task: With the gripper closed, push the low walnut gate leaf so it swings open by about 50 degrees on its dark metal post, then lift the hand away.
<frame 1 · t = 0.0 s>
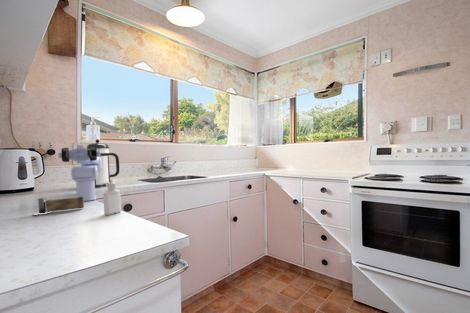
hand: (76, 153, 93), 22 cm above the counter, tool horizontal, fingers open, 7 cm apart
coffee press: (101, 185, 156), on the counter
gate post: (42, 213, 88), on the counter
eye dropper bottle: (113, 213, 86), on the counter
gate: (65, 204, 91), point 3 cm above the counter, hinge at 0.0°
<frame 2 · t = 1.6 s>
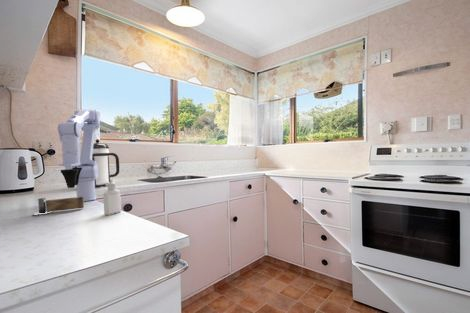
hand: (73, 186, 96), 8 cm above the counter, tool pointing down, fingers open, 7 cm apart
nothing on the counter moved.
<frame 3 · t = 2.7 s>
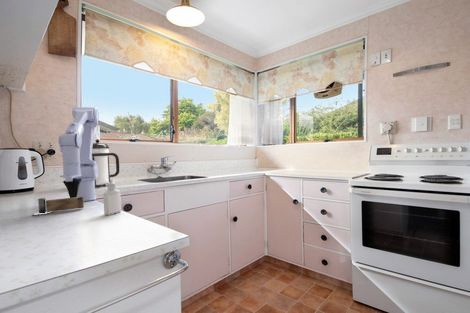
hand: (73, 197, 96), 4 cm above the counter, tool pointing down, fingers closed
nothing on the counter moved.
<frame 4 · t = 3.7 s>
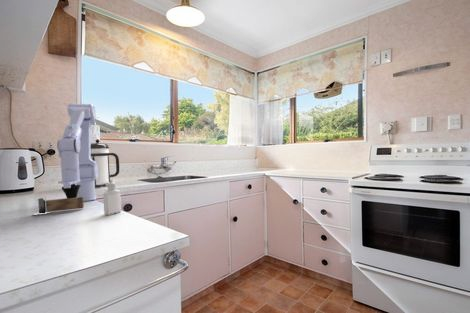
hand: (72, 204, 94), 2 cm above the counter, tool pointing down, fingers closed
gate: (65, 204, 91), point 3 cm above the counter, hinge at -1.8°, touching gripper
everything else where it was.
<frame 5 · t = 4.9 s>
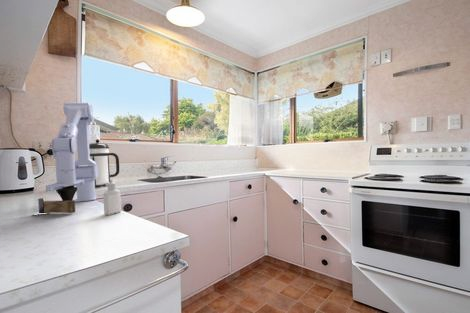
hand: (68, 207, 89), 2 cm above the counter, tool pointing down, fingers closed
gate: (59, 206, 87), point 3 cm above the counter, hinge at -33.9°, touching gripper
everything else where it was.
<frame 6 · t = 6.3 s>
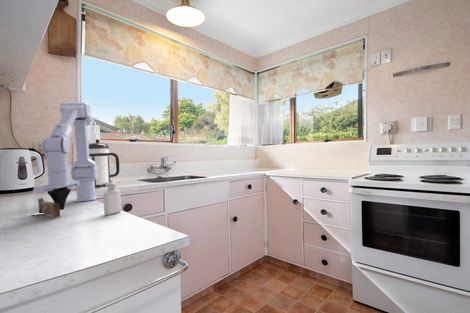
hand: (60, 209, 85), 2 cm above the counter, tool pointing down, fingers closed
gate: (50, 208, 84), point 3 cm above the counter, hinge at -58.3°, touching gripper
everything else where it was.
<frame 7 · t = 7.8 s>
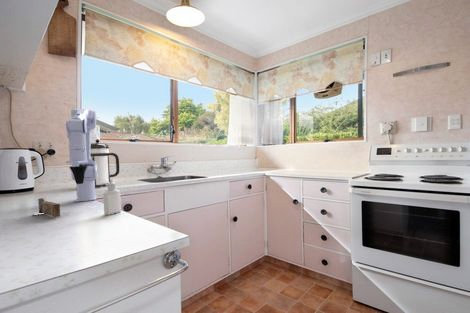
hand: (79, 183, 96), 9 cm above the counter, tool pointing down, fingers closed
gate: (50, 208, 84), point 3 cm above the counter, hinge at -58.3°
everything else where it was.
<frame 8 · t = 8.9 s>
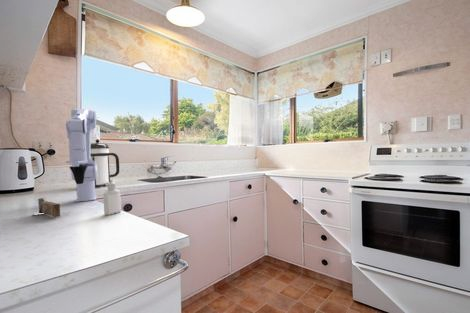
hand: (79, 183, 96), 9 cm above the counter, tool pointing down, fingers closed
nothing on the counter moved.
at the end: gate at -58° (first picture: +0°); eye dropper bottle moved 0.2 cm from its start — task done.
